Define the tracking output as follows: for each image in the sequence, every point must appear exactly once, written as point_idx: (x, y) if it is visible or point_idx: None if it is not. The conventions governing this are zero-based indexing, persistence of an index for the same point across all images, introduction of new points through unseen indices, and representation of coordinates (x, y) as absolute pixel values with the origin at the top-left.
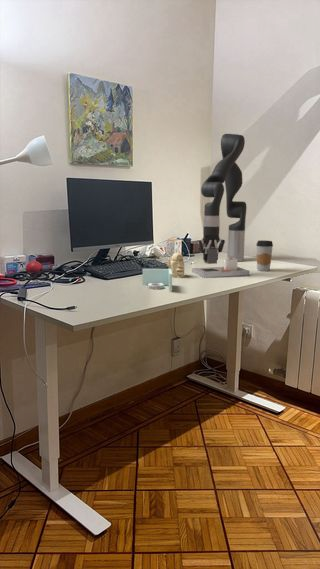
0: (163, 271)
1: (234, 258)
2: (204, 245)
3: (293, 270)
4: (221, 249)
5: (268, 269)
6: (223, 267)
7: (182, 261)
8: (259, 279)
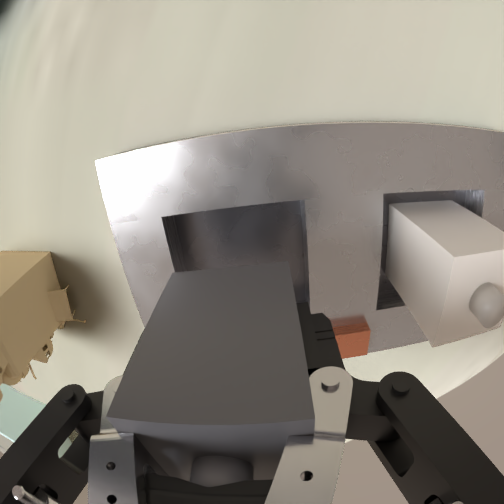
0: (17, 437)
1: None
2: (91, 472)
3: None
4: (396, 446)
5: None
6: (420, 162)
7: (10, 378)
8: (439, 383)
